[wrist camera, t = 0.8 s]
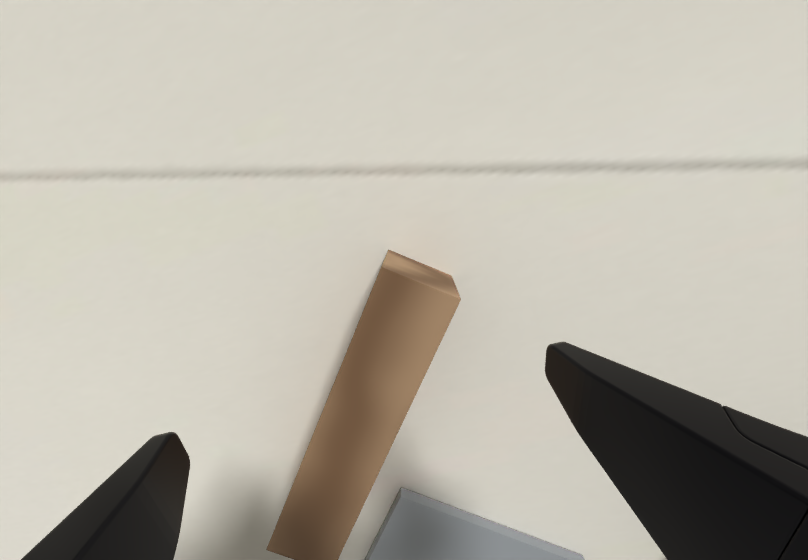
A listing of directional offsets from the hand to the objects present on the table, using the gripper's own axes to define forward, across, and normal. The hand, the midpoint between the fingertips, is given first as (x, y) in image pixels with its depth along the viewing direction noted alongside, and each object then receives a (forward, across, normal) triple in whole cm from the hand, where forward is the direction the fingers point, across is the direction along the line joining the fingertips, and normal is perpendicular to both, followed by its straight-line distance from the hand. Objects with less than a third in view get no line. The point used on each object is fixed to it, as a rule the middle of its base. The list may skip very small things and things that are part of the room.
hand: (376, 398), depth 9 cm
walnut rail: (+12, 0, +10) cm, 16 cm away
